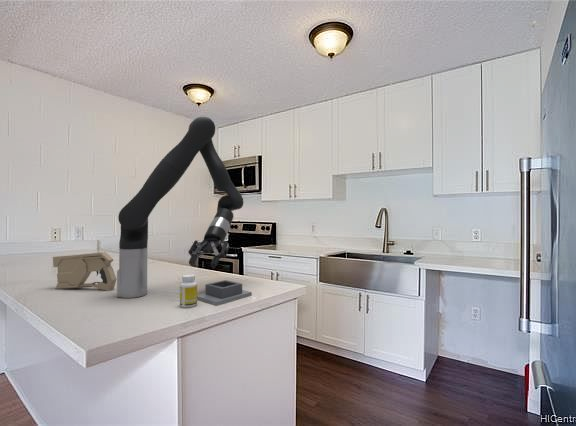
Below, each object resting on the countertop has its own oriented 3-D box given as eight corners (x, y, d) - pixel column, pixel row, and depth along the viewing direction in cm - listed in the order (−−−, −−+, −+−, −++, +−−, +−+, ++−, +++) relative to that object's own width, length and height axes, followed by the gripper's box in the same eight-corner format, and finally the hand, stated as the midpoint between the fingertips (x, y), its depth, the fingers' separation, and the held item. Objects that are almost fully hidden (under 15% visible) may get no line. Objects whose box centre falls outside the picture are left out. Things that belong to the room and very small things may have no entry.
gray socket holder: (216, 305, 98) (216, 291, 98) (194, 299, 106) (194, 285, 106) (251, 295, 111) (251, 282, 111) (230, 290, 118) (230, 278, 118)
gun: (118, 288, 119) (115, 251, 119) (112, 291, 116) (109, 252, 116) (61, 292, 122) (58, 255, 122) (54, 294, 118) (51, 256, 118)
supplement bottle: (200, 303, 100) (200, 274, 100) (190, 308, 95) (190, 277, 95) (186, 302, 102) (187, 273, 102) (176, 307, 97) (176, 276, 97)
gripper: (197, 224, 116) (179, 258, 105) (231, 225, 112) (215, 260, 101) (204, 237, 121) (188, 270, 110) (237, 238, 118) (223, 273, 107)
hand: (201, 265), depth 106 cm, fingers open, 8 cm apart
